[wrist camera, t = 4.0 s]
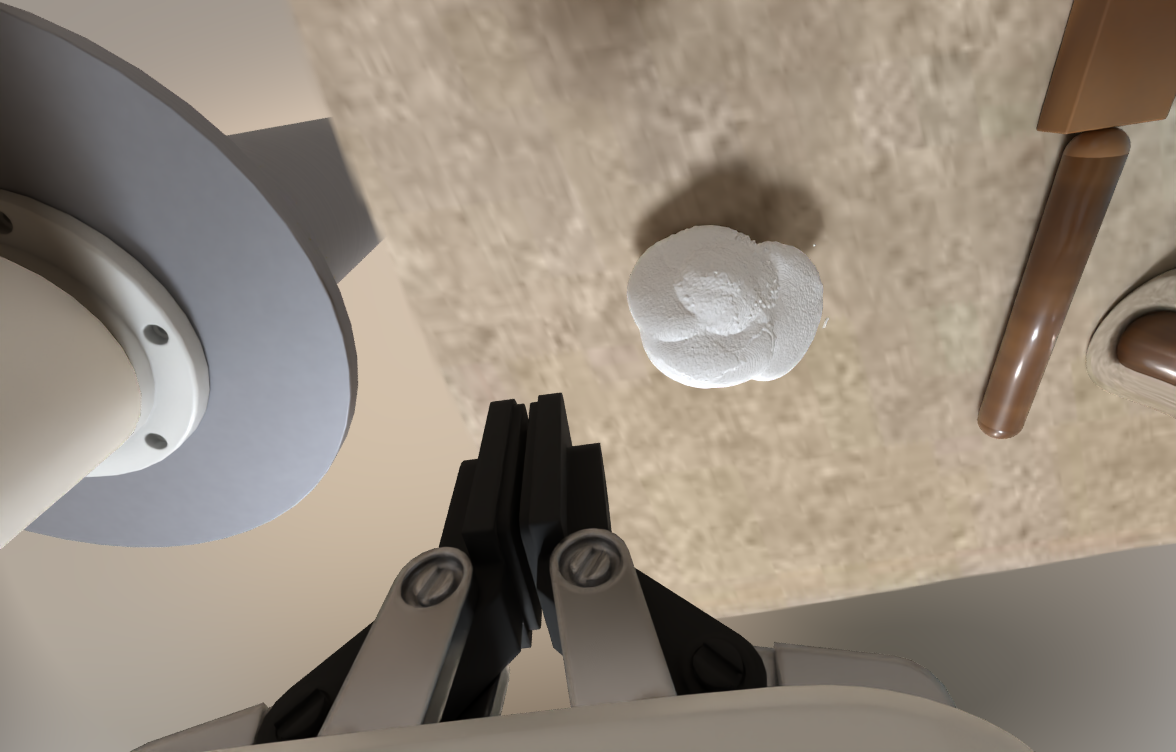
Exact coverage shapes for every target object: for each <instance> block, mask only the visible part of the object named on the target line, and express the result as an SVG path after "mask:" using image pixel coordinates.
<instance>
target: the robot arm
mask: <svg viewBox="0 0 1176 752" xmlns="http://www.w3.org/2000/svg"><path fill="white" fill-rule="evenodd" d="M209 392H210V386H209V372H208V365H207V362H206V359H205V355H204V352H203V349H202V346H201V343H200V340H199V339H198V337H197V335H196V333H195V331H194V329H193V327H192V325H191V324H190V322H189V320H188V318H187V316H186V315H185V313H184V312H183V311H182V309H181V308H180V307H179V305H178V304H177V303H176V301H175V300H174V299H173V297H172V296H171V295H170V293H169V292H168V291H167V290H166V288H165V287H164V286H163V285H162V284H161V283H160V282H159V281H158V280H157V279H156V278H155V277H154V276H153V275H152V274H151V273H150V272H149V271H148V270H147V269H146V268H145V267H144V266H143V265H142V264H141V263H140V262H139V261H137V260H136V259H135V258H133V257H132V256H131V255H130V254H128V253H127V252H126V251H124V250H123V249H122V248H120V247H119V246H118V245H116V244H115V243H114V242H113V241H111V240H110V239H109V238H107V237H106V236H104V235H103V234H101V233H99V232H98V231H96V230H94V229H93V228H91V227H89V226H87V225H86V224H84V223H82V222H81V221H79V220H77V219H76V218H74V217H72V216H70V215H69V214H67V213H64V212H62V211H60V210H57V209H55V208H53V207H50V206H48V205H46V204H44V203H41V202H39V201H37V200H34V199H32V198H30V197H27V196H23V195H20V194H16V193H13V192H9V191H6V190H2V189H0V549H1V548H2V547H3V546H5V545H6V544H7V543H8V542H9V541H10V540H12V539H13V538H14V537H15V536H16V535H18V534H19V533H20V532H21V531H22V530H24V529H25V528H26V527H27V526H28V525H29V524H31V523H32V522H33V521H34V520H35V519H36V518H38V517H39V516H40V515H41V514H42V513H43V512H45V511H46V510H47V509H48V508H49V507H50V506H52V505H53V504H54V503H55V502H56V501H57V500H59V499H60V498H61V497H62V496H63V495H64V494H66V493H67V492H68V491H69V490H70V489H71V488H73V487H74V486H75V485H76V484H77V483H78V482H80V481H81V480H82V479H83V478H84V477H99V476H114V475H120V474H125V473H129V472H133V471H138V470H142V469H144V468H146V467H148V466H151V465H153V464H155V463H157V462H160V461H162V460H163V459H165V458H166V457H167V456H168V455H170V454H171V453H172V452H174V451H175V450H176V449H177V448H179V447H180V446H181V445H182V443H183V442H184V441H185V440H186V439H187V438H188V437H189V436H190V435H191V434H192V433H193V432H194V431H195V430H196V429H197V427H198V425H199V423H200V421H201V419H202V417H203V415H204V413H205V412H206V407H207V402H208V397H209ZM542 611H543V614H544V618H545V621H546V625H547V628H548V631H549V634H550V637H551V641H552V645H553V648H554V649H556V650H557V651H558V652H559V653H560V654H561V655H563V660H564V665H565V673H566V679H567V685H568V692H569V698H570V705H571V708H564V709H555V710H546V711H538V712H529V713H520V714H511V715H502V716H501V712H502V708H503V704H504V699H505V695H506V691H507V686H508V682H509V674H510V667H509V663H510V662H511V661H512V660H513V659H514V658H515V657H516V656H517V655H518V654H519V653H520V652H521V649H522V648H530V647H531V643H532V630H537V629H540V628H541V617H542ZM130 752H1034V751H1033V750H1032V749H1031V748H1029V747H1028V746H1027V745H1026V744H1024V743H1023V742H1022V741H1020V740H1019V739H1017V738H1016V737H1014V736H1013V735H1011V734H1010V733H1008V732H1007V731H1005V730H1003V729H1001V728H999V727H997V726H995V725H993V724H991V723H989V722H987V721H985V720H983V719H981V718H978V717H976V716H974V715H971V714H969V713H966V712H964V711H961V710H959V709H957V708H956V706H955V704H954V701H953V700H952V698H951V696H950V694H949V693H948V691H947V689H946V688H945V686H944V685H943V684H942V683H941V682H940V681H939V680H938V679H937V678H936V677H935V676H934V675H933V674H932V673H931V672H930V671H929V670H928V669H926V668H924V667H923V666H921V665H919V664H917V663H916V662H914V661H912V660H909V659H906V658H902V657H898V656H894V655H886V654H877V653H868V652H859V651H850V650H841V649H832V648H822V647H814V646H813V647H812V646H804V645H795V644H786V643H777V642H774V648H768V647H759V646H753V645H752V644H751V643H749V642H748V641H747V640H746V639H745V638H743V637H742V636H741V635H739V634H738V633H736V632H735V631H733V630H732V629H730V628H729V627H727V626H725V625H724V624H722V623H721V622H719V621H718V620H716V619H714V618H713V617H711V616H710V615H708V614H707V613H705V612H703V611H702V610H700V609H699V608H697V607H696V606H694V605H692V604H691V603H689V602H688V601H686V600H685V599H683V598H682V597H680V596H678V595H677V594H675V593H674V592H672V591H671V590H669V589H667V588H666V587H664V586H663V585H661V584H660V583H658V582H656V581H655V580H653V579H652V578H650V577H649V576H647V575H645V574H644V573H642V572H641V571H639V570H638V569H636V568H635V567H634V564H633V561H632V558H631V555H630V552H629V550H628V548H627V546H626V544H625V542H624V541H623V540H622V539H621V538H620V537H619V536H617V535H616V534H614V533H612V531H611V522H610V512H609V503H608V495H607V487H606V479H605V472H604V465H603V458H602V452H601V446H600V443H594V444H586V445H579V446H572V442H571V437H570V431H569V426H568V421H567V415H566V410H565V405H564V399H563V395H562V393H554V394H546V395H539V396H538V402H532V403H530V410H529V420H528V415H527V411H526V407H525V405H524V404H517V403H516V401H515V399H509V400H502V401H494V402H491V403H490V406H489V411H488V415H487V420H486V424H485V429H484V433H483V438H482V442H481V447H480V451H479V456H478V459H472V460H465V461H463V462H462V463H461V466H460V468H459V473H458V476H457V480H456V484H455V487H454V491H453V495H452V499H451V503H450V506H449V510H448V514H447V518H446V521H445V525H444V529H443V533H442V537H441V540H440V544H439V548H434V549H432V550H429V551H426V552H424V553H421V554H420V555H418V556H417V557H415V558H413V559H412V560H411V561H410V562H409V563H407V565H406V566H404V567H403V568H402V570H401V571H400V572H399V574H398V575H397V577H396V579H395V580H394V582H393V584H392V586H391V588H390V590H389V593H388V595H387V596H386V598H385V600H384V602H383V604H382V607H381V609H380V611H379V613H378V615H377V617H376V619H375V620H374V621H373V622H372V623H371V624H369V625H368V626H367V627H366V628H365V629H363V630H362V631H361V632H360V633H358V634H357V635H356V636H355V637H353V638H352V639H351V640H350V641H348V642H347V643H346V644H345V645H343V646H342V647H341V648H340V649H338V650H337V651H336V652H335V653H334V654H332V655H331V656H330V657H328V658H327V659H326V660H325V661H324V662H322V663H321V664H320V665H319V666H317V667H316V668H315V669H314V670H312V671H311V672H310V673H309V674H307V675H306V676H305V677H304V678H302V679H301V680H300V681H299V682H297V683H296V684H295V685H294V686H292V687H291V688H290V689H289V690H288V691H287V692H286V693H285V694H284V695H282V697H280V698H279V699H278V700H277V701H276V702H275V704H274V705H273V706H272V707H269V708H268V707H267V706H266V705H265V704H264V703H261V704H258V705H255V706H252V707H249V708H246V709H244V710H241V711H238V712H235V713H232V714H229V715H227V716H224V717H220V718H218V719H215V720H212V721H209V722H206V723H203V724H200V725H197V726H194V727H191V728H189V729H186V730H183V731H180V732H177V733H174V734H171V735H168V736H165V737H162V738H160V739H157V740H154V741H151V742H148V743H146V744H144V745H142V746H140V747H138V748H136V749H134V750H132V751H130Z"/></svg>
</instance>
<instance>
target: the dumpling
mask: <svg viewBox="0 0 1176 752" xmlns="http://www.w3.org/2000/svg"><path fill="white" fill-rule="evenodd" d="M813 246H816V244H814V245H813ZM627 299H628V304H629V308H630V311H631V314H632V316H633V318H634V321H635V323H636V324H637V326H638V327H639V329H640V335H641V339H642V344H643V347H644V349H645V351H646V353H647V355H648V357H649V359H650V360H651V362H652V363H653V364H654V365H655V366H656V367H657V368H658V369H659V370H660V371H661V372H662V373H664V374H665V375H666V376H668V377H669V378H671V379H673V380H675V381H678V382H680V383H682V384H685V385H688V386H692V387H696V388H719V387H728V386H733V385H737V384H740V383H743V382H746V381H748V380H750V379H754V380H758V381H769V380H774V379H777V378H779V377H782V376H783V375H785V374H787V373H788V372H789V371H790V370H792V369H793V367H795V366H796V365H797V363H798V362H799V361H800V360H801V359H802V358H803V356H804V354H805V353H806V352H807V350H808V348H809V346H810V344H811V342H812V340H813V339H814V336H815V333H816V331H817V328H818V325H819V322H820V319H821V315H822V309H823V284H822V282H821V280H820V276H819V272H818V271H817V269H816V267H815V265H814V264H813V263H812V262H811V260H810V259H809V257H808V256H807V255H806V254H805V253H803V252H802V251H801V250H800V249H798V248H796V247H794V246H789V245H786V244H781V243H780V242H777V241H774V242H771V241H765V242H762V243H759V244H756V243H755V240H752V241H751V239H750V237H749V236H748V235H747V236H746V235H745V234H743V233H742V232H741V233H738V232H737V230H733V229H730V228H729V227H721V226H717V225H715V226H714V225H703V226H696V225H695V226H693V227H692V228H690V229H688V228H686V229H685V230H682V231H680V232H678V233H677V234H675V235H674V234H672V235H670V236H669V237H667V238H665V239H663V240H661V241H658V242H656V243H655V244H654V245H653V246H651V247H649V248H648V249H647V250H646V251H645V252H644V254H643V255H642V256H641V257H639V259H638V261H637V262H636V264H635V266H634V268H633V270H632V272H631V274H630V278H629V281H628V286H627ZM828 320H829V318H828V317H827V318H826V319H825V321H824V324H823V328H824V327H826V324H827V321H828Z"/></svg>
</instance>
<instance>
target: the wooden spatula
mask: <svg viewBox="0 0 1176 752" xmlns="http://www.w3.org/2000/svg"><path fill="white" fill-rule="evenodd" d="M1175 96H1176V0H1074V3H1073V6H1072V9H1071V13H1070V16H1069V20H1068V23H1067V26H1066V30H1065V33H1064V37H1063V40H1062V44H1061V47H1060V50H1059V54H1058V57H1057V61H1056V64H1055V67H1054V71H1053V74H1052V78H1051V81H1050V85H1049V88H1048V91H1047V95H1046V98H1045V102H1044V105H1043V108H1042V112H1041V115H1040V119H1039V122H1038V126H1037V131H1042V132H1052V133H1061V134H1070V133H1077V132H1082V133H1080V134H1079V135H1077V136H1076V137H1075V138H1073V139H1072V140H1071V141H1070V142H1069V144H1068V145H1067V146H1066V148H1065V150H1064V152H1063V155H1062V158H1061V161H1060V164H1059V167H1058V170H1057V174H1056V177H1055V180H1054V183H1053V186H1052V189H1051V192H1050V195H1049V198H1048V201H1047V204H1046V207H1045V211H1044V214H1043V217H1042V220H1041V223H1040V226H1039V229H1038V232H1037V235H1036V238H1035V241H1034V244H1033V248H1032V251H1031V254H1030V257H1029V260H1028V263H1027V266H1026V269H1025V272H1024V275H1023V278H1022V281H1021V285H1020V288H1019V291H1018V294H1017V297H1016V300H1015V303H1014V306H1013V309H1012V312H1011V315H1010V318H1009V322H1008V325H1007V328H1006V331H1005V334H1004V337H1003V340H1002V343H1001V346H1000V349H999V352H998V355H997V359H996V362H995V365H994V368H993V371H992V374H991V377H990V380H989V383H988V386H987V389H986V393H985V396H984V399H983V402H982V405H981V408H980V411H979V414H978V419H977V421H978V425H979V427H980V429H981V430H982V431H983V432H984V433H985V434H987V435H988V436H990V437H993V438H997V439H1007V438H1011V437H1014V436H1015V435H1017V434H1018V433H1019V432H1020V431H1021V430H1022V428H1023V426H1024V424H1025V421H1026V418H1027V416H1028V413H1029V411H1030V408H1031V405H1032V403H1033V400H1034V398H1035V395H1036V392H1037V390H1038V387H1039V385H1040V382H1041V379H1042V377H1043V374H1044V372H1045V369H1046V367H1047V364H1048V361H1049V359H1050V356H1051V354H1052V351H1053V348H1054V346H1055V343H1056V341H1057V338H1058V335H1059V333H1060V330H1061V328H1062V325H1063V322H1064V320H1065V317H1066V315H1067V312H1068V310H1069V307H1070V304H1071V302H1072V299H1073V297H1074V294H1075V291H1076V289H1077V286H1078V284H1079V281H1080V278H1081V276H1082V273H1083V271H1084V268H1085V265H1086V263H1087V260H1088V258H1089V255H1090V252H1091V250H1092V247H1093V245H1094V242H1095V240H1096V237H1097V234H1098V232H1099V229H1100V227H1101V224H1102V221H1103V219H1104V216H1105V214H1106V211H1107V208H1108V206H1109V203H1110V201H1111V198H1112V195H1113V193H1114V190H1115V188H1116V185H1117V183H1118V180H1119V177H1120V175H1121V172H1122V170H1123V167H1124V164H1125V162H1126V159H1127V157H1128V154H1129V151H1130V139H1129V137H1128V135H1127V134H1126V133H1125V132H1124V131H1123V130H1122V129H1119V128H1117V126H1123V125H1130V124H1137V123H1143V122H1150V121H1156V120H1163V119H1165V118H1166V117H1167V116H1168V113H1169V111H1170V108H1171V106H1172V103H1173V101H1174V98H1175ZM1083 131H1084V132H1083Z"/></svg>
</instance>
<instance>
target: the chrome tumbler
mask: <svg viewBox="0 0 1176 752" xmlns="http://www.w3.org/2000/svg"><path fill="white" fill-rule="evenodd" d="M1086 370H1087V373H1088V376H1089V378H1090V379H1091V380H1092V382H1093V383H1094V384H1095V385H1096V386H1098V387H1099V388H1100V389H1102V390H1104V391H1106V392H1108V393H1110V394H1113V395H1115V396H1118V397H1120V398H1123V399H1126V400H1129V401H1131V402H1134V403H1137V404H1140V405H1143V406H1146V407H1148V408H1151V409H1154V410H1157V411H1159V412H1161V413H1164V414H1166V415H1169V416H1171V417H1173V418H1175V419H1176V268H1175V269H1172V270H1170V271H1167V272H1165V273H1163V274H1160V275H1158V276H1156V277H1154V278H1153V279H1151V280H1149V281H1147V282H1146V283H1144V284H1143V285H1141V286H1140V287H1138V288H1137V289H1135V290H1134V291H1132V292H1131V293H1130V294H1129V295H1127V296H1126V297H1125V298H1124V299H1123V300H1122V301H1120V302H1119V303H1118V304H1117V305H1116V306H1115V307H1114V308H1113V309H1112V310H1111V311H1110V313H1109V314H1108V315H1107V316H1106V317H1105V318H1104V320H1103V321H1102V322H1101V324H1100V325H1099V327H1098V328H1097V330H1096V331H1095V333H1094V335H1093V337H1092V339H1091V341H1090V344H1089V347H1088V350H1087V355H1086Z"/></svg>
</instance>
